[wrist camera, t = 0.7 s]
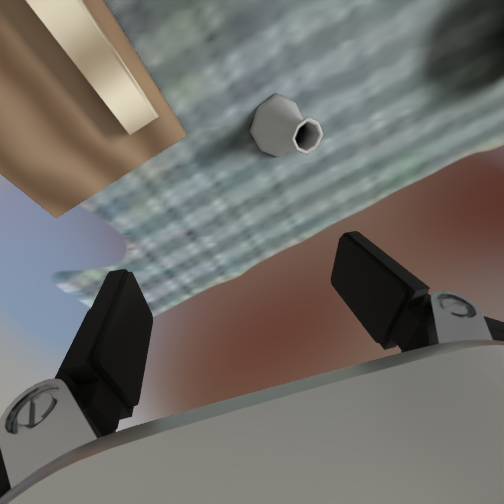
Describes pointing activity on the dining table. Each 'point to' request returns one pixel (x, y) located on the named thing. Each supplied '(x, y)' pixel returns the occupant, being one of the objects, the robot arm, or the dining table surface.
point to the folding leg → (96, 60)
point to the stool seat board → (68, 114)
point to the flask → (284, 128)
